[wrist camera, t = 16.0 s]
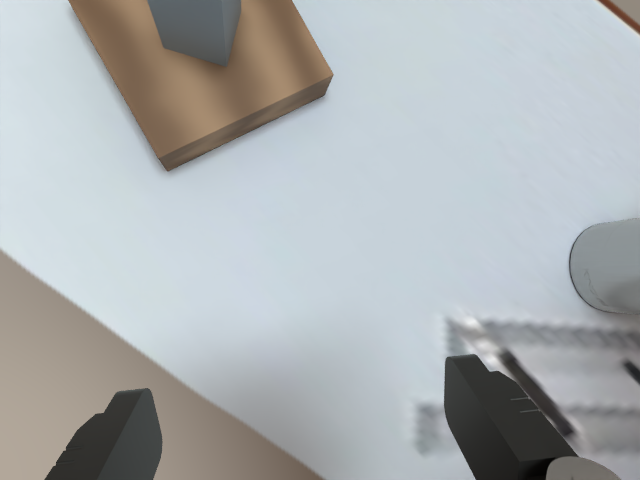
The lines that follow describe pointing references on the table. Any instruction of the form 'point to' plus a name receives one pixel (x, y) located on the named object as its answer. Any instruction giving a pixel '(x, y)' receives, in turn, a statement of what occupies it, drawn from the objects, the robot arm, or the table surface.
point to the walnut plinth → (206, 74)
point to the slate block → (197, 27)
